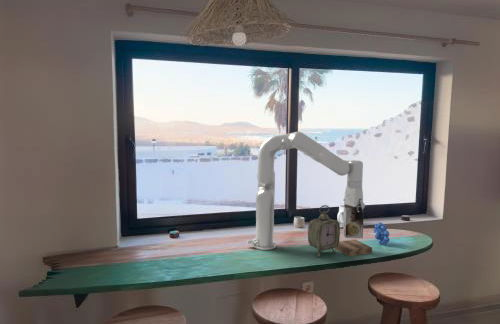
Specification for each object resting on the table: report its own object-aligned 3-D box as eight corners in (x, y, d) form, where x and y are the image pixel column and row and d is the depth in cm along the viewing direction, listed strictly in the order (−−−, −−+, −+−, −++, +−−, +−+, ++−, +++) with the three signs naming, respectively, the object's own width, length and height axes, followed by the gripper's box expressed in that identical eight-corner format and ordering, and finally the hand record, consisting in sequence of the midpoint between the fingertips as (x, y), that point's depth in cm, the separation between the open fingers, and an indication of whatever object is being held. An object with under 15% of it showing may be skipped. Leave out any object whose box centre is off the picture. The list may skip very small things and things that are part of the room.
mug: (344, 229, 219) (345, 209, 218) (331, 225, 228) (331, 206, 227) (358, 226, 227) (359, 206, 226) (345, 222, 236) (346, 204, 235)
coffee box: (360, 234, 181) (361, 205, 180) (363, 238, 175) (364, 207, 174) (342, 234, 182) (343, 204, 181) (344, 237, 176) (346, 207, 174)
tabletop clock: (318, 259, 166) (319, 208, 164) (305, 253, 173) (307, 205, 171) (339, 253, 173) (340, 205, 171) (326, 248, 181) (327, 202, 179)
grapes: (367, 241, 194) (368, 221, 193) (377, 240, 196) (377, 220, 195) (382, 248, 183) (383, 226, 182) (392, 246, 185) (393, 225, 185)
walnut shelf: (348, 256, 170) (348, 250, 170) (333, 247, 183) (333, 241, 183) (371, 253, 175) (372, 247, 175) (355, 244, 188) (355, 239, 188)
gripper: (338, 182, 183) (337, 214, 185) (359, 187, 167) (357, 222, 168) (350, 181, 186) (349, 213, 187) (371, 186, 169) (370, 221, 171)
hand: (353, 217), depth 178 cm, fingers closed on coffee box, 8 cm apart
